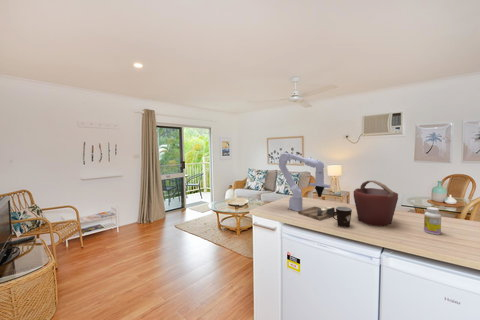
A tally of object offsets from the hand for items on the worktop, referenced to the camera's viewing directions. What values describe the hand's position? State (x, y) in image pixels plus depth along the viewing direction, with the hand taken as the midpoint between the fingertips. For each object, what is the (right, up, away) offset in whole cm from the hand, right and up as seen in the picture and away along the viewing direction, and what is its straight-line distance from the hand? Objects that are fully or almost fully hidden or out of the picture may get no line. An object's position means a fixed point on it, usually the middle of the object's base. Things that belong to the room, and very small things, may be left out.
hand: (319, 196), depth 154 cm
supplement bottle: (+44, -12, -41) cm, 62 cm away
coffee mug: (+2, -12, -28) cm, 31 cm away
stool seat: (-4, -11, -7) cm, 14 cm away
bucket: (+24, -11, -23) cm, 35 cm away
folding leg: (0, -9, -11) cm, 14 cm away
